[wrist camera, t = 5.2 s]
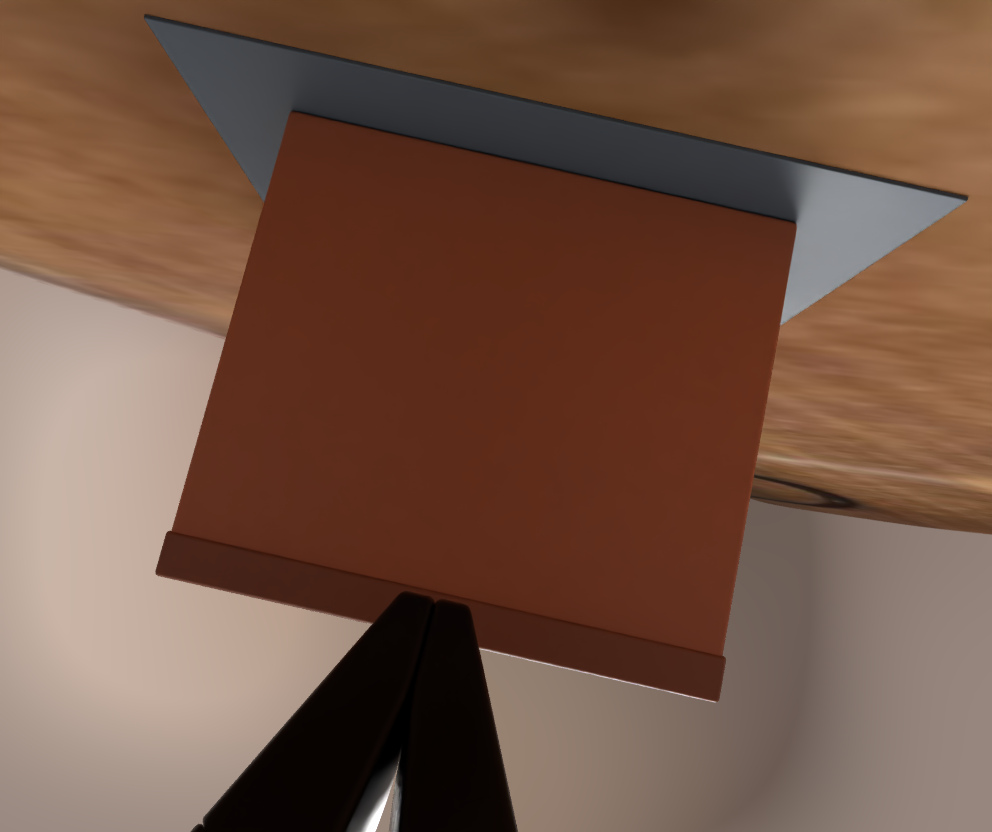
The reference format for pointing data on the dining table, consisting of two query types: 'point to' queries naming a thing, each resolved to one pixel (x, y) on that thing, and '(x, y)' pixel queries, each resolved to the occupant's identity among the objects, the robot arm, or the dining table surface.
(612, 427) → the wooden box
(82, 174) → the dining table surface
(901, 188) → the mat
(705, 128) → the dining table surface
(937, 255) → the dining table surface
